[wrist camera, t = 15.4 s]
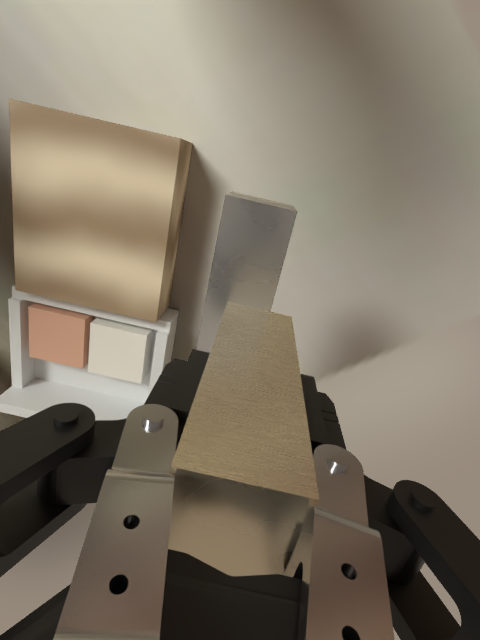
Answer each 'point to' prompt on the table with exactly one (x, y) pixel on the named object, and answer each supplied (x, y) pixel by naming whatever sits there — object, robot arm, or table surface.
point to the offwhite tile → (119, 350)
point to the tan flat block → (95, 210)
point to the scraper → (245, 408)
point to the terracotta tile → (59, 335)
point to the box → (75, 383)
